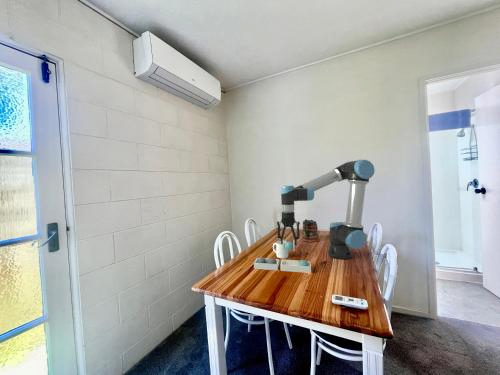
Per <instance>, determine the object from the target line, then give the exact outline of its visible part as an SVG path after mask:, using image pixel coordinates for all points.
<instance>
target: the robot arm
mask: <svg viewBox="0 0 500 375" xmlns="http://www.w3.org/2000/svg"><path fill="white" fill-rule="evenodd" d="M374 174H375V166H374V164H373V163H372V161H370V160H368V159H357V160H352V161H347V162H345V163H343V164H340V165H338V166H337V167H335V168H333V169H332V170H331V171H329V172H327V173H325V174H323V175H320V176H317V177H316V178H314V179H311V180H309V181H307V182H304V183H301V184H300V185H297V186H294V185H282V186H281V189H280V197H281V198H280V199H281V204H280V206H281V219H280V220H278V221H277V222H276V225H277V239H280V241H281V244H282V245H283V251H284V250H285V247H284V241H285V238H284V237H285V236H284V235H285V232H286V228H290V229H291V232H292V233H291V234H292V236H293V239H292V243H293V249H292V251H293V252H295V251H296V247H295V246H297V243H298V242H297V241H298V240H300V224H301V223H300V221H296V219H295V214H296V213H295V202H303V201H304V202H309V201H313V200H314V199H315V192H317V191H318V190H320V189H323V188H324V187H328V186H329V185H332V184H333V183H335V182H342V181H344V180H347V182H348V184H349V192H348V199H347V200H348V201H347V205H346V206H347V208H346V217H345V221H336V222H335V221H334V222H331V223H329V246H328V249H327V255H328V257H330V258H332V259H335V260H349V259H352V258H353V257H352V256H353V254H352V251H351V248H352V249H355V250H356V249H361V248H362V247H364V246H365V245H366V242H367V240H368V239H367V234H366V233H365V231H364V225H363V224H362V221H363V220H362V219H363V218H362V217H363V210H364V201H365V194H366V193H365V192H366V185H368V184H369V183H370V182H369V181H370V179H372V177H373V176H374ZM281 224H282V225H283V228H282V232H281ZM294 225H295V226H296V231H295V228H294Z"/></svg>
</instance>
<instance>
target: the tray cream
mask: <svg viewBox="0 0 500 375" xmlns="http://www.w3.org/2000/svg"><path fill="white" fill-rule="evenodd" d="M300 261H301V260H295V259H294V260H293V259H281V262H280V264H279V267H280V271H281V272H291V273H292V272H293V273H294V272H295V273H304V274H312V265H311V264H312V263H311V260H309V261H307V260H306V261H307V262H308V266H299V262H300Z"/></svg>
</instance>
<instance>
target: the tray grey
mask: <svg viewBox="0 0 500 375" xmlns="http://www.w3.org/2000/svg"><path fill="white" fill-rule="evenodd" d="M259 258H260V257H257V258H256V259H255V261H254V262H253V269H254V270H266V271H267V270H268V271H279V267H280V258H279V259H278V258H276V259H275V258H274V259H275V260H276V264H267V261H268V259H269V258H265V260H266V263H257V260H258V259H259Z"/></svg>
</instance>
